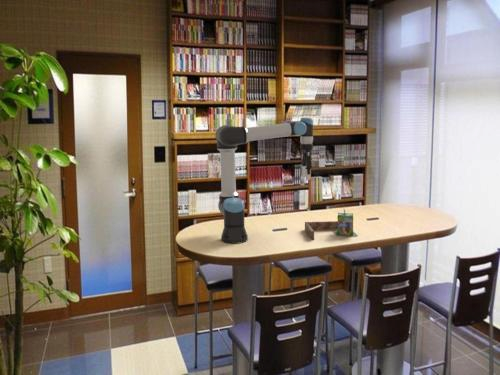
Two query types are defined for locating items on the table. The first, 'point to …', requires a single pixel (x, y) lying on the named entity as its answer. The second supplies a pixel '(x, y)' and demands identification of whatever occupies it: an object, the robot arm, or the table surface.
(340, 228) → the chalk box
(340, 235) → the pad
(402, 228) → the table surface
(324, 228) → the wooden corner wall
